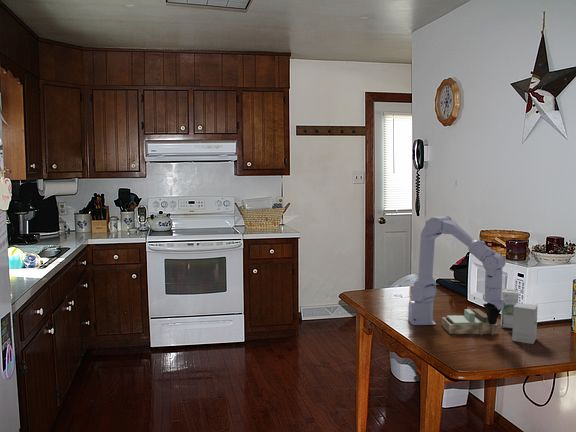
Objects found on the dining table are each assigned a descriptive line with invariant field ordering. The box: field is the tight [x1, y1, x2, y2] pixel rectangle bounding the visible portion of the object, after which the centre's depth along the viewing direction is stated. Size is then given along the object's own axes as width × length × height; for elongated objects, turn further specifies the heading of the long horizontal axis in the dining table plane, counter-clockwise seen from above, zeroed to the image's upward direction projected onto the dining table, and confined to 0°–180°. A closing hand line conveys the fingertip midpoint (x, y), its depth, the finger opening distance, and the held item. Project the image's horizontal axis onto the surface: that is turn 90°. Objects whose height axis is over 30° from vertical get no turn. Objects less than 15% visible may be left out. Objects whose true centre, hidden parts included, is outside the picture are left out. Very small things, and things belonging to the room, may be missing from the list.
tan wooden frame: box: [441, 316, 499, 336], centre depth 206 cm, size 18×13×5 cm
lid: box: [446, 308, 491, 325], centre depth 206 cm, size 14×10×4 cm, turn 90°
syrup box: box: [500, 288, 519, 330], centre depth 209 cm, size 6×6×14 cm
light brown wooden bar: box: [472, 308, 489, 323], centre depth 206 cm, size 2×12×2 cm, turn 0°
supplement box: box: [511, 302, 539, 345], centre depth 194 cm, size 7×7×13 cm
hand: (492, 323), depth 195 cm, fingers closed
